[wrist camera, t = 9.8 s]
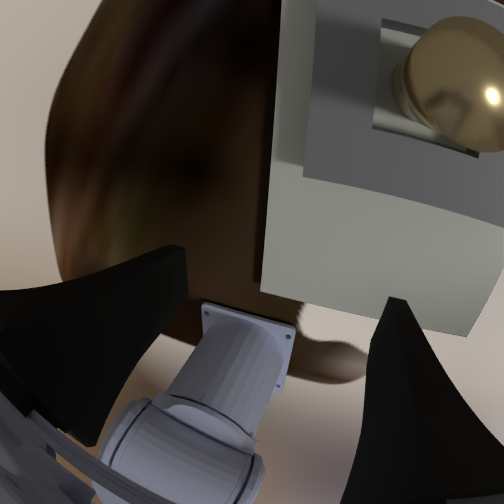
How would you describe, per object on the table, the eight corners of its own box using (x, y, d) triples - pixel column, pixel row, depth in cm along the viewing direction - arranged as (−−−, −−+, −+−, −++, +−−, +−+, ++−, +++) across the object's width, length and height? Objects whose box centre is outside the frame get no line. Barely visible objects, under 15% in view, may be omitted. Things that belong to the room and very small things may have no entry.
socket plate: (464, 329, 18) (470, 356, 16) (263, 284, 22) (250, 308, 20) (541, 31, 7) (563, 26, 4) (287, -38, 11) (273, -57, 9)
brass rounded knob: (457, 134, 12) (524, 169, 6) (387, 116, 13) (407, 131, 7) (464, 64, 10) (535, 46, 4) (393, 45, 11) (415, -1, 5)
